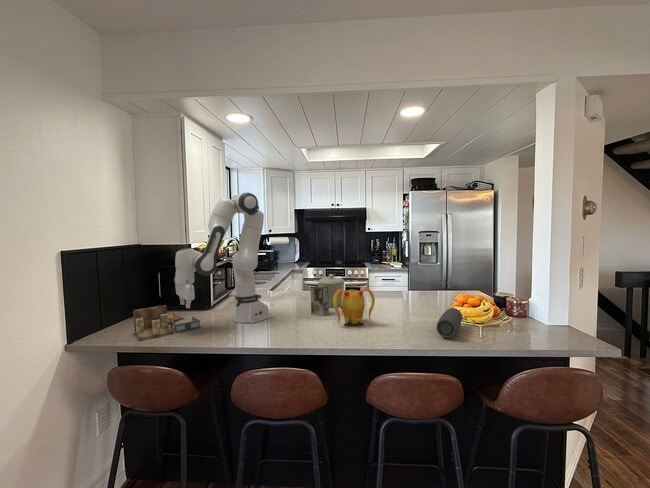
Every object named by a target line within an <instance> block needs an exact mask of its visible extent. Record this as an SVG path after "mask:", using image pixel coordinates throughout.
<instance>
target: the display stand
mask: <svg viewBox="0 0 650 488" xmlns="http://www.w3.org/2000/svg"><path fill="white" fill-rule="evenodd" d="M167 308H168V305H167V304H166V305H159V306H153V307H145V308H139V309H134V310H133V328H134V330H133V331H134V335H135V337H136V339H139V340H138V341H139V342H143V341H147V340H151V339H156V338H161V337H165V336H170V335H174V334H175V330H174V329H173V328H172V329H171V328H170V325H168V315H169V314H168V309H167Z"/></svg>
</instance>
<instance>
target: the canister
mask: <svg viewBox="0 0 650 488" xmlns="http://www.w3.org/2000/svg"><path fill="white" fill-rule="evenodd" d="M345 281H346V280H345V279H343V278H342V277H336V276H335V275H334V273H329V274H328V277H321V278H320V279H318V280H317V283H318V286H321V287H328V303H329V308H334V305H333V297H334V294H335V292H336V291H337V290H339V289H343V290H344V286H345ZM343 292H344V291H342V292H340V294H339V296H338V300H337V306H338V307H339V306H340V307H341V297H342V294H343Z"/></svg>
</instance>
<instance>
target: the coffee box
mask: <svg viewBox="0 0 650 488" xmlns="http://www.w3.org/2000/svg"><path fill="white" fill-rule="evenodd" d="M329 308H330V307H329V303H328V287H321V286H319V285H315V286H312V287H310V310H311V311H310V314H311V315H315V316H327V315H329V313H330V309H329Z"/></svg>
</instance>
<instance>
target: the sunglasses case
mask: <svg viewBox="0 0 650 488" xmlns="http://www.w3.org/2000/svg"><path fill="white" fill-rule="evenodd" d="M181 320H185V318H184V317H182V316H180V315H178V314H177V313H175V312H172V313H170V314H168V326H170V321H173V322H174V323H177V322H180V321H181Z"/></svg>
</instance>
